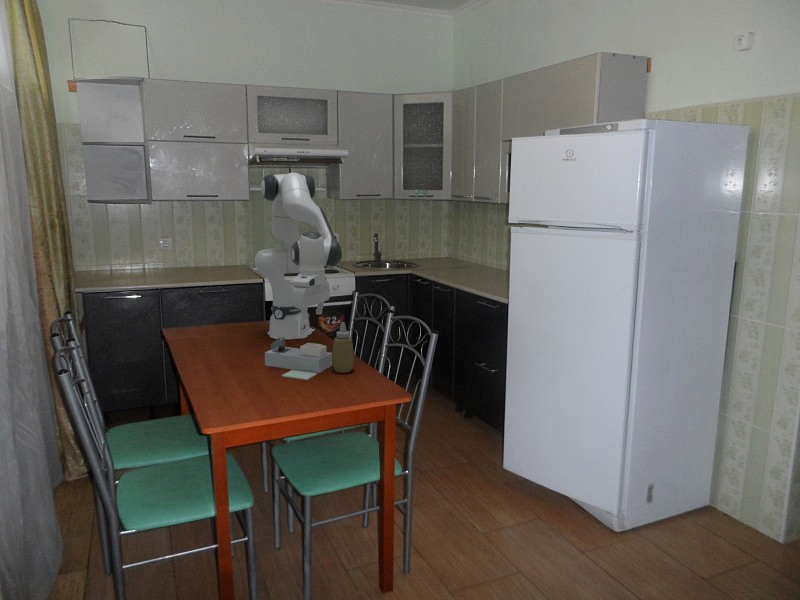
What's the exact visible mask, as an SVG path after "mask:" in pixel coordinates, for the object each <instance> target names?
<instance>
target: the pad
mask: <svg viewBox="0 0 800 600" xmlns="http://www.w3.org/2000/svg"><path fill="white" fill-rule="evenodd" d="M317 375H318V373H314V372H306V371H299V370H292V369H290V370H289V371H287V372H286V373H284V374H281V377H284V378H290V379H298V380H304V381H305V380H306V381H308V380H310V379H311V378H313V377H315V376H317Z"/></svg>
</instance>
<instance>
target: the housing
mask: <svg viewBox="0 0 800 600" xmlns="http://www.w3.org/2000/svg"><path fill="white" fill-rule="evenodd" d="M332 354H333V352H329V351H326V354H325V355H323V356H321V357H315V356H308V355H300V348H296V347H291V346H290V347H288V346H285V350H278V347H277V348H276V349H270V350H267V351H265V352H264V366H266V367H270V368H273V367H274V368H277V369H278V368H280V369H287V370H297V371H304V372H311V373H317V374H321V373H322V372H324V371H325V369H326V370H328V369H329V368H331V367H333V364H332ZM330 366H331V367H330ZM327 368H328V369H327Z"/></svg>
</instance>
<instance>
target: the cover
mask: <svg viewBox="0 0 800 600" xmlns="http://www.w3.org/2000/svg"><path fill="white" fill-rule="evenodd" d="M299 347H300V348H299V349H300V355H308V356H315V357H321V356H323V355H325V354H326V352H327V345H325V344H324V345H323V343H322V344H321V343H314V342H307V343H305V344H303V345H300V346H299Z"/></svg>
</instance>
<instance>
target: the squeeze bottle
mask: <svg viewBox="0 0 800 600" xmlns="http://www.w3.org/2000/svg"><path fill="white" fill-rule="evenodd" d="M335 334H336V337H334V339H333V347H332V367H333V369H334V372H336V373H339V374H346V373H351V372H352V368H353V367H354V363H355V355H354V354H355V353H354V345H353V338H351V337H350V331H348V330H347V327H346V322H344V321H341V322H340V327H339V331H336V333H335Z"/></svg>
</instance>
